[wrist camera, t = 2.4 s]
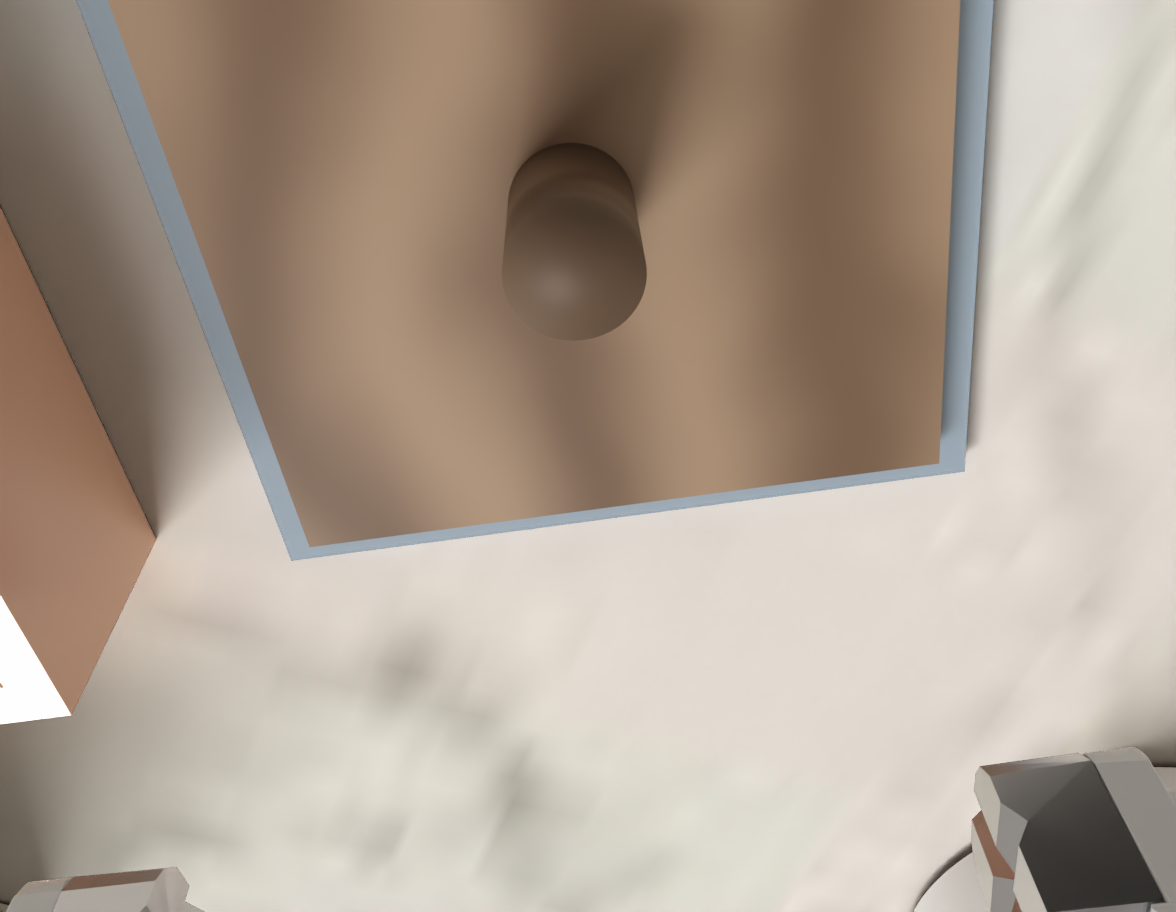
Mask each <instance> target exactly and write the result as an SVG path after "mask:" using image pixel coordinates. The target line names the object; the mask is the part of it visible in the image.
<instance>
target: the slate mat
mask: <svg viewBox="0 0 1176 912" xmlns="http://www.w3.org/2000/svg"><path fill="white" fill-rule="evenodd" d="M76 1H77V4H78V7H79V9H80V12H81V14H82V17H83V20H84V22H85V25H86V27H87V30H88V33H89V35H90V38H91V40H92V43H93V46H94V48H95V51H96V53H97V56H98V59H99V61H100V64H101V66H102V69H103V72H104V74H105V77H106V79H107V82H108V85H109V87H110V90H111V92H112V95H113V98H114V100H115V103H116V106H117V108H118V111H119V113H120V116H121V119H122V121H123V124H124V126H125V129H126V132H127V134H128V137H129V139H130V142H131V145H132V147H133V150H134V152H135V155H136V158H137V160H138V163H139V165H140V168H141V171H142V173H143V176H144V178H145V181H146V184H147V186H148V189H149V191H150V194H151V197H152V199H153V202H154V204H155V207H156V210H157V212H158V215H159V217H160V220H161V223H162V225H163V228H164V230H165V233H166V236H167V238H168V241H169V243H170V246H171V249H172V251H173V254H174V256H175V259H176V262H177V264H178V267H179V269H180V272H181V275H182V277H183V280H184V282H185V285H186V288H187V290H188V293H189V295H190V298H191V301H192V303H193V306H194V308H195V311H196V314H197V316H198V319H199V321H200V324H201V327H202V329H203V332H204V334H205V337H206V340H207V342H208V345H209V347H210V350H211V353H212V355H213V358H214V360H215V363H216V366H217V368H218V371H219V373H220V376H221V379H222V381H223V384H224V386H225V389H226V392H227V394H228V397H229V400H230V402H231V405H232V407H233V410H234V413H235V415H236V418H237V420H238V423H239V426H240V428H241V431H242V433H243V436H244V439H245V441H246V444H247V446H248V449H249V452H250V454H251V457H252V459H253V462H254V465H255V467H256V470H257V472H258V475H259V478H260V480H261V483H262V485H263V488H264V491H265V493H266V496H267V498H268V501H269V504H270V506H271V509H272V511H273V514H274V517H275V519H276V522H277V524H278V527H279V530H280V532H281V535H282V537H283V540H284V543H285V545H286V548H287V550H288V553H289V556H290V558H291V561H293V560H300V559H308V558H315V557H323V556H331V555H338V554H346V553H353V552H361V551H368V550H376V549H383V548H391V547H398V546H406V545H414V544H421V543H429V542H436V541H444V540H451V539H459V538H466V537H474V536H481V535H489V534H497V533H504V532H512V531H519V530H527V529H534V528H542V527H549V526H557V525H564V524H572V523H580V522H587V521H595V520H602V519H610V518H617V517H625V516H632V515H640V514H647V513H655V512H663V511H670V510H678V509H685V508H693V507H700V506H708V505H715V504H723V503H730V502H738V501H746V500H753V499H761V498H768V497H776V496H783V495H791V494H798V493H806V492H813V491H821V490H829V489H836V488H844V487H851V486H859V485H866V484H874V483H881V482H889V481H896V480H904V479H911V478H919V477H927V476H934V475H942V474H949V473H957V472H964V471H965V457H966V441H967V424H968V408H969V392H970V376H971V360H972V343H973V327H974V311H975V295H976V278H977V262H978V246H979V230H980V213H981V197H982V181H983V165H984V148H985V132H986V116H987V100H988V83H989V67H990V51H991V35H992V19H993V2H994V0H960V18H959V40H958V62H957V84H956V106H955V128H954V150H953V173H952V195H951V217H950V239H949V261H948V283H947V305H946V327H945V349H944V371H943V393H942V415H941V437H940V459H939V464H932V465H924V466H917V467H909V468H902V469H894V470H887V471H879V472H872V473H864V474H857V475H849V476H842V477H834V478H827V479H819V480H812V481H804V482H797V483H789V484H782V485H774V486H767V487H759V488H752V489H744V490H737V491H729V492H722V493H714V494H707V495H699V496H691V497H684V498H676V499H669V500H661V501H654V502H646V503H639V504H631V505H624V506H616V507H609V508H601V509H594V510H586V511H579V512H571V513H564V514H556V515H549V516H541V517H534V518H526V519H519V520H511V521H504V522H496V523H489V524H481V525H474V526H466V527H459V528H451V529H444V530H436V531H429V532H421V533H414V534H406V535H398V536H391V537H383V538H376V539H368V540H361V541H353V542H346V543H338V544H331V545H323V546H316V547H309V544H308V542H307V539H306V536H305V534H304V531H303V528H302V525H301V523H300V520H299V517H298V515H297V512H296V509H295V506H294V504H293V501H292V498H291V496H290V493H289V490H288V487H287V485H286V482H285V479H284V477H283V474H282V471H281V468H280V466H279V463H278V460H277V458H276V455H275V452H274V449H273V447H272V444H271V441H270V439H269V436H268V433H267V431H266V428H265V425H264V422H263V420H262V417H261V414H260V412H259V409H258V406H257V403H256V401H255V398H254V395H253V393H252V390H251V387H250V384H249V382H248V379H247V376H246V374H245V371H244V368H243V365H242V363H241V360H240V357H239V355H238V352H237V349H236V347H235V344H234V341H233V338H232V336H231V333H230V330H229V328H228V325H227V322H226V319H225V317H224V314H223V311H222V309H221V306H220V303H219V300H218V298H217V295H216V292H215V290H214V287H213V284H212V281H211V279H210V276H209V273H208V271H207V268H206V265H205V262H204V260H203V257H202V254H201V252H200V249H199V246H198V244H197V241H196V238H195V235H194V233H193V230H192V227H191V225H190V222H189V219H188V216H187V214H186V211H185V208H184V206H183V203H182V200H181V197H180V195H179V192H178V189H177V187H176V184H175V181H174V178H173V176H172V173H171V170H170V168H169V165H168V162H167V159H166V157H165V154H164V151H163V149H162V146H161V143H160V141H159V138H158V135H157V132H156V130H155V127H154V124H153V122H152V119H151V116H150V113H149V111H148V108H147V105H146V103H145V100H144V97H143V94H142V92H141V89H140V86H139V84H138V81H137V78H136V75H135V73H134V70H133V67H132V65H131V62H130V59H129V56H128V54H127V51H126V48H125V46H124V43H123V40H122V38H121V35H120V32H119V29H118V27H117V24H116V21H115V19H114V16H113V13H112V10H111V8H110V5H109V2H108V0H76Z"/></svg>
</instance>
